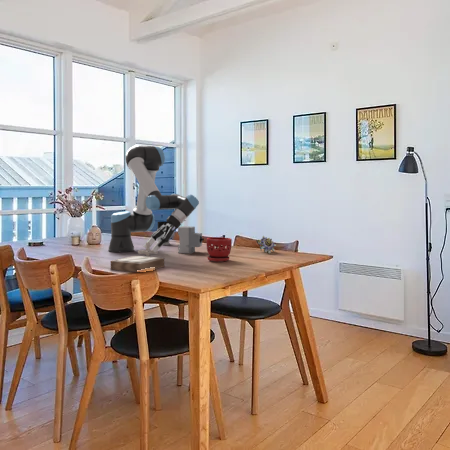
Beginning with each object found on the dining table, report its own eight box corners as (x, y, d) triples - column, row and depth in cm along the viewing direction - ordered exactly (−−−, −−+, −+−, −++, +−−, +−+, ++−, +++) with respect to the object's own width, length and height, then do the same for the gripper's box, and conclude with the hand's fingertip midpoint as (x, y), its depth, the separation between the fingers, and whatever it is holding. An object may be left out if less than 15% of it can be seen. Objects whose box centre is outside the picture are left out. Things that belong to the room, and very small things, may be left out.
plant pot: (223, 263, 238) (223, 239, 237) (201, 261, 245) (201, 238, 244) (236, 259, 249) (236, 237, 248) (215, 258, 256) (215, 236, 255)
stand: (110, 269, 222) (110, 260, 221) (135, 263, 238) (134, 255, 237) (141, 272, 213) (140, 263, 213) (164, 266, 229) (164, 257, 229)
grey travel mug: (163, 243, 322) (162, 221, 321) (178, 244, 314) (178, 222, 313) (154, 244, 315) (153, 222, 314) (169, 245, 307) (169, 223, 306)
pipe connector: (139, 260, 248) (138, 241, 247) (158, 260, 249) (158, 241, 248) (137, 263, 238) (137, 243, 237) (157, 263, 239) (156, 243, 238)
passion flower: (268, 262, 272) (262, 247, 266) (256, 257, 280) (249, 242, 274) (281, 250, 277) (275, 235, 270) (268, 245, 285) (262, 230, 278)
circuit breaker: (201, 253, 272) (201, 227, 271) (178, 253, 275) (177, 227, 274) (204, 251, 279) (204, 226, 278) (181, 251, 282) (181, 226, 281)
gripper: (190, 225, 239) (162, 257, 233) (172, 222, 261) (146, 251, 255) (180, 215, 236) (152, 247, 230) (163, 213, 258) (137, 242, 252)
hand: (149, 249), depth 243 cm, fingers open, 13 cm apart
